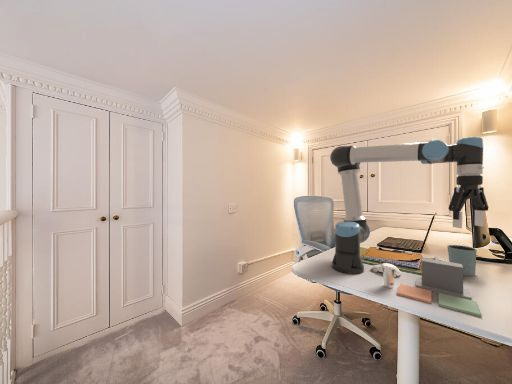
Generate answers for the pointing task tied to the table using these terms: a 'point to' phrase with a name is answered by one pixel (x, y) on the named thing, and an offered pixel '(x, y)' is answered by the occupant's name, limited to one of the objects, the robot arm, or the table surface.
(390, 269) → the milkshake
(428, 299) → the pad terracotta
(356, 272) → the robot arm
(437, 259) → the electrical switch
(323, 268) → the table surface
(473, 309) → the pad sage
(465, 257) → the teal cup
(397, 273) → the car
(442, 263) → the block
